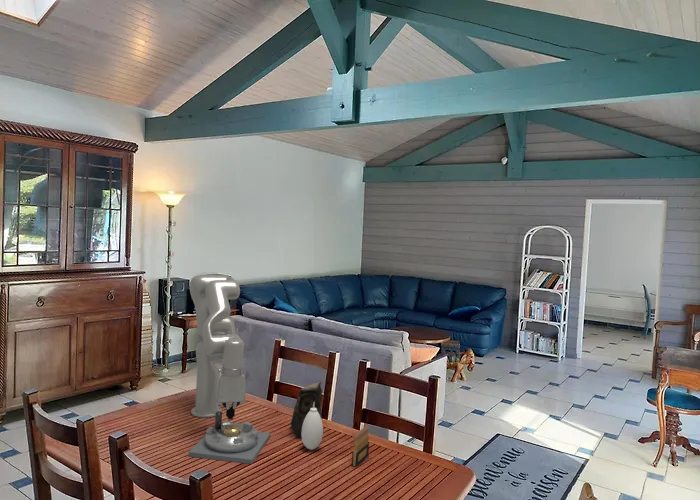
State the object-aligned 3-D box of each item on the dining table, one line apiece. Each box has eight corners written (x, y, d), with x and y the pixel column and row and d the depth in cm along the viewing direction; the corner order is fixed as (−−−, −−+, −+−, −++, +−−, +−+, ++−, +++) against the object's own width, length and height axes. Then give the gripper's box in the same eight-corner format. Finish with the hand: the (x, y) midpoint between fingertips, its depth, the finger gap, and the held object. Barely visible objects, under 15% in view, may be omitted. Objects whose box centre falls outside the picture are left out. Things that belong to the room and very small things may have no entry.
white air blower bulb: (309, 442, 193) (312, 396, 193) (325, 448, 189) (328, 401, 188) (296, 449, 187) (299, 401, 186) (312, 455, 182) (315, 406, 182)
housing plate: (214, 430, 199) (214, 426, 199) (270, 437, 196) (270, 432, 196) (188, 456, 176) (188, 451, 176) (251, 463, 173) (251, 459, 173)
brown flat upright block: (355, 467, 175) (358, 433, 175) (351, 466, 176) (353, 432, 176) (368, 456, 185) (370, 424, 184) (364, 454, 186) (366, 422, 185)
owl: (320, 427, 209) (323, 379, 208) (323, 439, 196) (326, 389, 196) (290, 426, 207) (293, 379, 206) (290, 439, 195) (293, 389, 194)
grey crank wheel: (268, 440, 189) (269, 416, 189) (231, 458, 173) (233, 432, 172) (232, 426, 199) (233, 404, 199) (194, 442, 183) (195, 418, 182)
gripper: (213, 375, 186) (210, 423, 187) (253, 373, 191) (251, 420, 192) (211, 369, 193) (209, 416, 194) (250, 367, 198) (248, 413, 199)
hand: (230, 418), depth 193 cm, fingers closed
